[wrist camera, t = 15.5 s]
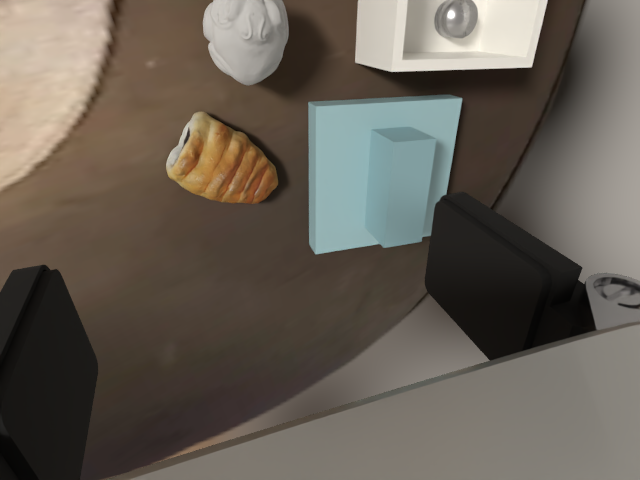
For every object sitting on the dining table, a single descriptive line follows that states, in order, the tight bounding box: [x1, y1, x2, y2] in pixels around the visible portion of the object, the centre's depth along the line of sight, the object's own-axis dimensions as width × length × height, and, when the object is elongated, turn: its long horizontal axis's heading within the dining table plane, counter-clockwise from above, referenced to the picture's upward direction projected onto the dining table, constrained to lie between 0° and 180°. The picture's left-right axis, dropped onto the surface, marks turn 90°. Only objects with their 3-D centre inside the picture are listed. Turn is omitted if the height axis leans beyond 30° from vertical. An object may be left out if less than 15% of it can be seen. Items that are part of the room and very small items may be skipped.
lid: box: [308, 94, 462, 254], centre depth 40 cm, size 15×15×7 cm
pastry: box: [166, 112, 278, 204], centre depth 36 cm, size 9×7×4 cm
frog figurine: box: [203, 0, 289, 86], centre depth 30 cm, size 6×7×7 cm
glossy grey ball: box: [434, 0, 478, 38], centre depth 36 cm, size 3×3×2 cm
